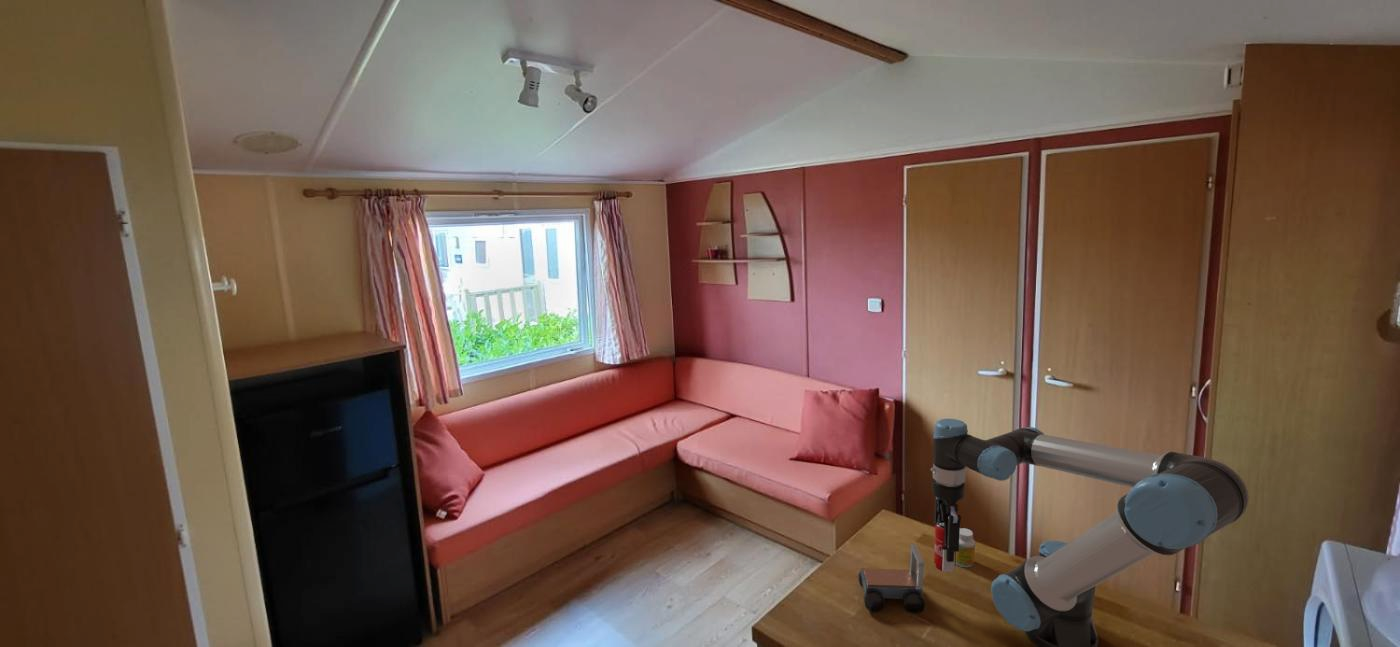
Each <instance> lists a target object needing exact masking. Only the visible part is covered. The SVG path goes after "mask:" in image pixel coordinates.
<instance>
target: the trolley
mask: <svg viewBox="0 0 1400 647" xmlns="http://www.w3.org/2000/svg"><path fill="white" fill-rule="evenodd" d="M909 565H910V566H909V569H898V568H896V569H895V568H894V569H893V568H865V567H864V568H863V567H862V568H860V571H859V572H858V575H857V578H858V582H859V585H860V587H862V588H863V592H864V594H863V603H864V606H865V608H866V610H868V611H870V612H872V613H878V612H880V611H882V610H884V608H885V606H886V601H885V599H897V600H898V599H899V600H900V599H902V601H903V604H904V606H905V609H906V611H908V612H909V613H912V614H919V613H921V612H923V611H924V610H925V608H926V601H925V598H924V596H923V587H924V585H923V584H924V571H925V570H924V568H925V561H924V559H923V557H922V555H921V552H920V550H919V547H918V545H917V543H911V544H910V564H909ZM875 611H876V612H875Z"/></svg>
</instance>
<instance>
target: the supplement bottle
mask: <svg viewBox="0 0 1400 647" xmlns="http://www.w3.org/2000/svg"><path fill="white" fill-rule="evenodd" d="M975 548H976V541H975V539H974V533H973V531H972V530H971V529H968V528H964V527H963V528H961V527H960V533H959V552H956V566H959V567H962V568H971V567H973V566H974V562H975V560H974V559H975ZM972 565H973V566H972Z"/></svg>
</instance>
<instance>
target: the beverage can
mask: <svg viewBox="0 0 1400 647" xmlns="http://www.w3.org/2000/svg"><path fill="white" fill-rule="evenodd" d="M934 529H935V530H934V552H933V553H934V554H933V562H934V564H935V568H936V569H938V570H939V571H941V572H943V570H942V565H943V549H942V546H945V538H944V522H943V521H942V520H939V521H937V524H936V525H935V526H934ZM956 566H957V564H956V552H955V566H954V568H956Z"/></svg>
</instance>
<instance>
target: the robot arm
mask: <svg viewBox="0 0 1400 647" xmlns="http://www.w3.org/2000/svg"><path fill="white" fill-rule="evenodd" d="M933 431H934V432H933V436H932V439H933V457H932V458H933V459H932V467H931V468H930V471H931V472H932V482H931V493H932V495H933V496H934V521H933V522H934V523H933V527H935V525H936V524H937V521H939V520H942V521H943V522H944V538H945V546H942V549H943V565H942V570H943V571H942V572H945V573H952V572H953V573H954V572H955V567H956V566H955V552H959V533H960V529H961V526H960V525H961V521H962V516H961V514H958V512H959V511H958V509H959V506H958V503H957V502H958V501H960V500H962V499H964V496H965V486H966V485H965V484H966V483H965V481H966V473H967V472H966V468H967V469H970V470H971V471H974V472H976V473H978V474H980V475H983V476H984V477H986V478H989V479H993V480H996V481H998V482H999V481H1000V482H1002V481H1007V480H1008V479H1010V478H1011V476H1012V475H1013V474H1014V473H1015V471H1016V469H1017V466H1018V465H1021V464H1028V465H1033V466H1036V467H1037V466H1038V467H1042V468H1047V469H1052V470H1054V471H1055V470H1056V471H1059V472H1064V473H1068V474H1073V475H1077V476H1081V477H1084V478H1085V477H1086V478H1090V479H1094V480H1099V481H1102V482H1103V481H1104V482H1106V483H1107V482H1108V483H1112V484H1114V485H1115V484H1116V485H1120V486H1124V487H1129V488H1131V489H1130V490H1129V491H1128V492H1127V493H1126V494H1125V495H1123V496H1122V497H1120V498H1119V499H1118V500H1117V502H1116V512H1114V513H1113V514H1111V515H1110V516H1108V517H1107V518H1105V519H1103V520H1102V521H1101V522H1099V523H1097V524H1095V525H1094V526H1092V528H1089V529H1088V530H1086V531H1085V532H1083V533H1082V534H1080V535H1079V536H1076V538H1074V539H1072V540H1071V541H1069V542H1064V541H1059V540H1047V541H1043V542H1041V543H1040V546H1039V548H1038V555H1034V556H1031V557H1030V558H1028V559H1027V560H1025V561H1024V562H1022V563H1020V564H1019V565H1018V566H1016V567H1014V568H1013V569H1011V570H1009V571H1008V572H1006V573H1004V574H1002V573H1001V574H999V575H998V576H997V577H996V578H994V580H992V583H991V585H990V593H991V598H992V602H993V604H994V606H995V608H996V610H997V611H998V613H999V614H1000V616H1001V617H1002V618H1003V619H1004V620H1005V621H1006V622H1007V623H1008V624H1009V625H1011V626H1013V627H1014V628H1015V629H1017V630H1019V631H1022V632H1024V633H1025V635H1026V636H1027V638H1028V640H1030V642H1032V643H1033V644H1034V646H1036V647H1098V644H1099V637H1098V634H1097V630H1096V627H1095V624H1094V619H1093V610H1094V600H1095V592H1096V587H1097V586H1098V585H1100V584H1101V583H1103V582H1105V581H1107V580H1108V579H1110V578H1112V577H1113V576H1116V575H1118V574H1119V573H1121V572H1123V571H1125V570H1127V569H1129V568H1131V567H1132V566H1134V565H1136V564H1138V563H1140V562H1141V561H1143V560H1145V559H1147V558H1148V557H1150V556H1152V555H1154V554H1156V555H1160V556H1165V557H1168V556H1169V557H1171V556H1173V555H1176V554H1177V553H1180V552H1181V551H1183V550H1185V549H1186V548H1191V547H1194V546H1196V545H1199V544H1201V543H1203V541H1205V540H1206V539H1208V538H1209V537H1210V536H1211V535H1213V534H1215V533H1216V532H1218V531H1220V530H1221V529H1223V528H1224V527H1227V526H1229V524H1232V523H1234V522H1236V521H1237V520H1238V519H1240V518H1241V517H1242V516H1243V515H1244V513H1245V512H1246V510H1247V507H1248V504H1249V492H1248V491H1249V490H1248V489H1247V486H1246V484H1245V482H1244V480H1243V479H1242V478H1241V476H1240V475H1239V474H1238V473H1237V472H1236V471H1235V470H1234V469H1232V468H1231V467H1229V465H1227V464H1224V463H1223V462H1221V461H1218V460H1215V459H1211V458H1208V457H1204V456H1199V455H1193V454H1187V453H1183V452H1182V453H1181V452H1175V451H1166V452H1164V453H1163V454H1156V453H1151V452H1145V451H1139V450H1133V449H1128V448H1122V447H1117V446H1111V445H1105V444H1099V443H1094V442H1088V441H1082V440H1078V439H1071V438H1064V437H1060V436H1053V435H1048V434H1045V433H1044V432H1042V431H1041V430H1040V429H1038V428H1036V427H1034V426H1027V427H1020V428H1016V429H1014V430H1012V431H1010V432H1006V433H1004V434H1001V435H998V436H995V437H992V438H989V439H981V438H979V437H976V436H973V435H971V434H969V430H968V425H967V423H965V422H964V421H962V420H961V419H956V418H943V419H939V420H937V421H936V422H935V424H934V430H933ZM954 566H955V567H954Z"/></svg>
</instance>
